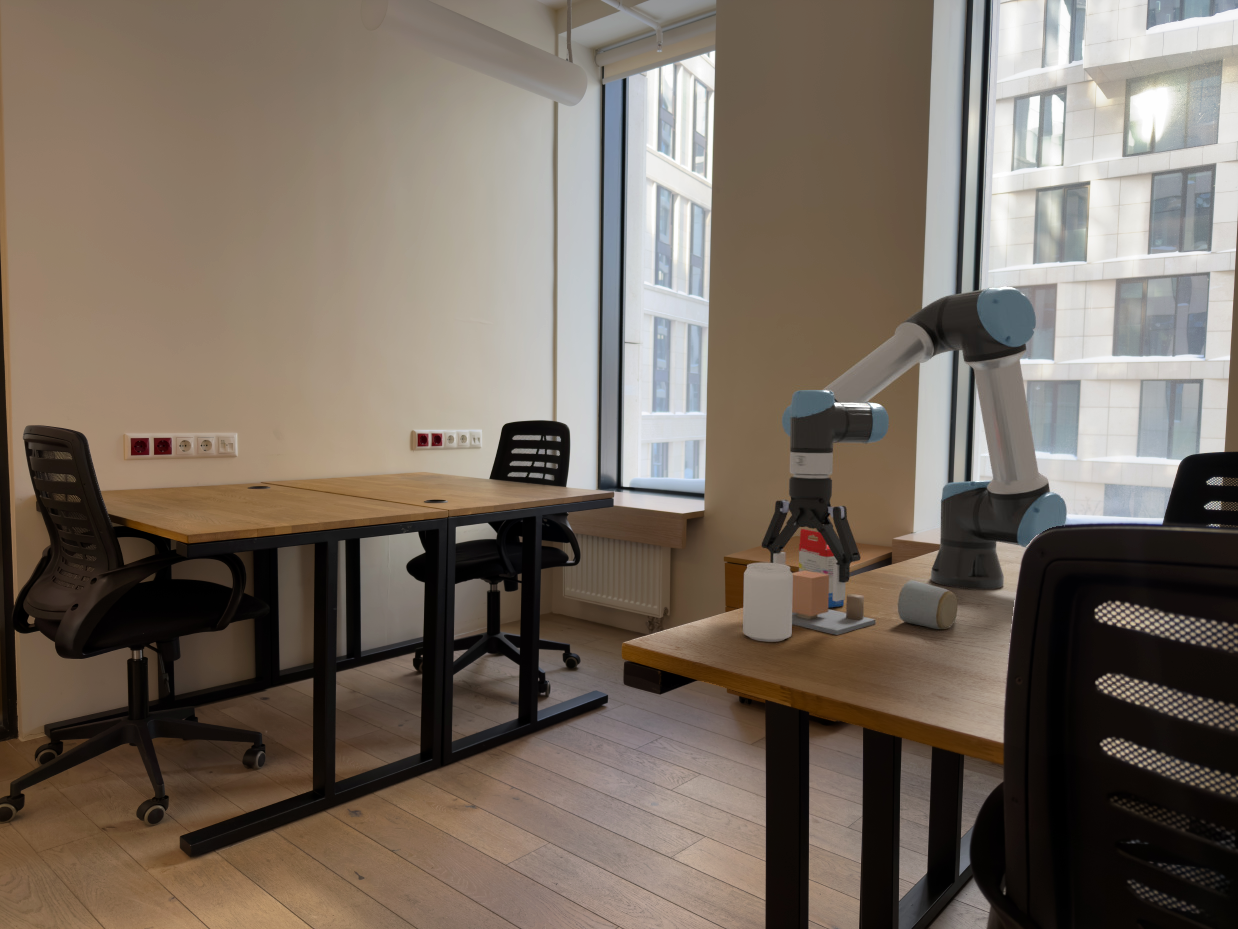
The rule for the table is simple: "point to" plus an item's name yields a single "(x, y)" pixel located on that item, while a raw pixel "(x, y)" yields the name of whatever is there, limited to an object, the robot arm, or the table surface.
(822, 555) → the ink box
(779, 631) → the beverage can
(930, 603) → the ceramic mug
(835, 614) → the slate plate
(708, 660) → the table surface
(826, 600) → the peach foam cube
